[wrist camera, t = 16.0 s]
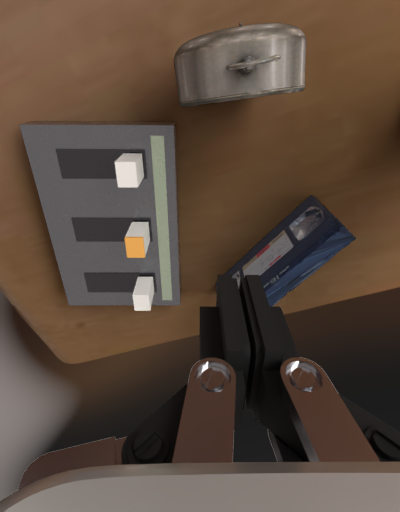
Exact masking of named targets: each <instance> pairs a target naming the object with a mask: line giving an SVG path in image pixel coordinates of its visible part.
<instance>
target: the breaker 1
mask: <svg viewBox="0 0 400 512" xmlns="http://www.w3.org/2000/svg"><path fill="white" fill-rule="evenodd" d="M115 169H116V177H117V184H118V187H139V185H140V183H141V181H142V179H143V178H144V170H143V159H142V153H123V154H122V155H121V156H120V157H119V158H118V159H117V160H116V161H115Z"/></svg>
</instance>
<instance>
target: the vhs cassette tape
mask: <svg viewBox="0 0 400 512" xmlns="http://www.w3.org/2000/svg"><path fill="white" fill-rule="evenodd" d="M355 239H356V237H354V236H353V235H352V234H351V233H350V232H349V231H348V230H347V228H345V226H344V225H342V223H341V222H340V221H339V220H338V219H337V218H336V217H335V216H334V215H333V214H332V213H331V212H330V211H329V210H328V209H327V208H326V207H325V206H323V205H322V204H321V203H320V202H319V200H317V199H316V198H315V197H314V196H312V195H310V196H309V197H308V198H307V199H306V200H305V201H304V202H302V203H301V204H300V205H299V206H298V207H297V208H296V209H295V210H294V211H292V212H291V213H290V214H289V215H288V216H287V217H286V218H285V219H284V220H283V221H281V222H280V223H279V224H278V225H277V226H276V227H275V228H274V229H273V230H272V231H271V232H270V233H268V234H267V235H266V236H265V237H264V238H263V239H262V240H261V241H260V242H259V243H258V244H257V245H255V246H254V247H253V248H252V249H251V250H250V251H249V252H248V253H247V254H246V255H245V256H243V257H242V258H241V259H240V260H239V261H238V262H237V263H236V264H235V265H234V266H233V267H232V268H231V269H230V270H228V271H227V272H226V273H225V274H224V275H231V276H232V278H237V283H238V287H239V284H240V278H245V275H259V276H260V278H261V281H262V284H263V287H264V291H265V294H266V297H267V300H268V303H269V306H270V307H272V306H273V305H275V304H276V303H277V302H278V301H279V300H281V299H282V298H283V297H284V296H285V295H286V294H287V292H288V291H289V292H290V291H291V290H293V289H294V288H296V287H297V286H298V285H299V284H300V283H301V282H303V281H304V280H305V279H307V278H308V277H309V276H310V275H312V274H313V273H314V272H315V271H317V270H318V269H319V268H320V267H321V266H323V265H324V264H325V263H326V262H328V261H329V260H330V259H331V258H332V257H333V256H334V255H335V254H336V253H338V252H339V251H340V250H341V249H343V248H344V247H346V246H347V245H349V244H350V243H351V242H352V241H353V240H355ZM216 294H217V282H216Z"/></svg>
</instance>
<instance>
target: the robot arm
mask: <svg viewBox="0 0 400 512" xmlns="http://www.w3.org/2000/svg"><path fill="white" fill-rule="evenodd" d="M245 398H246V404H247V409H248V410H253V415H254V420H260V423H262V424H263V425H264V426H265V427H267V428H268V435H269V439H270V441H271V444H272V447H273V450H274V453H275V456H276V458H277V462H246V463H245V462H242V463H241V462H240V463H233V440H234V430H235V428H236V427H237V426H238V425H239V424H240V423H241V418H242V411H243V409H244V402H245ZM0 512H400V433H399V432H397V431H396V430H395V429H393V428H392V427H390V426H389V425H387V424H386V423H384V422H382V421H381V420H379V419H378V418H376V417H375V416H373V415H371V414H370V413H368V412H367V411H365V410H363V409H362V408H360V407H359V406H357V405H356V404H354V403H353V402H351V401H350V400H348V399H346V398H345V397H343V396H342V395H340V394H338V392H337V391H336V389H335V387H334V386H333V384H332V383H331V381H330V380H329V378H328V376H327V375H326V373H325V372H324V370H323V369H322V368H321V367H320V366H319V365H317V364H316V363H315V362H312V361H311V360H308V359H305V358H301V357H299V355H298V352H297V350H296V347H295V344H294V342H293V339H292V336H291V333H290V331H289V328H288V325H287V323H286V320H285V318H284V315H283V312H282V310H281V308H280V307H270V306H269V303H268V300H267V297H266V294H265V291H264V287H263V284H262V281H261V278H260V276H259V275H245V278H240V284H239V287H238V283H237V278H232V276H231V275H218V279H217V302H216V307H200V361H198V362H197V363H196V364H195V365H194V366H193V367H192V369H191V372H190V376H189V380H188V384H187V385H185V386H184V387H183V388H182V389H181V390H180V391H178V392H177V393H176V394H175V395H174V396H173V397H171V398H170V399H169V400H168V401H167V402H166V403H164V404H163V405H162V406H161V407H160V408H159V409H158V410H156V411H155V412H154V413H153V414H152V415H150V416H149V417H148V418H147V419H146V420H145V421H143V422H142V423H141V424H140V425H139V426H137V427H136V428H135V429H134V430H133V431H132V432H131V433H130V434H129V435H128V436H127V437H125V438H121V439H115V437H111V438H107V439H102V440H99V441H95V442H90V443H86V444H82V445H78V446H74V447H70V448H66V449H62V450H58V451H54V452H50V453H47V454H45V455H42V456H40V457H39V458H38V459H36V460H35V461H34V462H32V463H31V464H30V465H29V467H28V468H27V469H26V471H25V472H24V474H23V476H22V479H21V481H20V483H19V488H18V490H17V491H16V492H14V493H12V494H10V495H9V496H7V497H6V498H4V499H2V500H1V501H0Z"/></svg>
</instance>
